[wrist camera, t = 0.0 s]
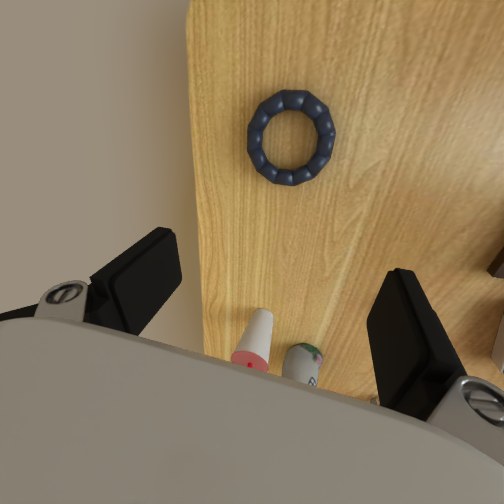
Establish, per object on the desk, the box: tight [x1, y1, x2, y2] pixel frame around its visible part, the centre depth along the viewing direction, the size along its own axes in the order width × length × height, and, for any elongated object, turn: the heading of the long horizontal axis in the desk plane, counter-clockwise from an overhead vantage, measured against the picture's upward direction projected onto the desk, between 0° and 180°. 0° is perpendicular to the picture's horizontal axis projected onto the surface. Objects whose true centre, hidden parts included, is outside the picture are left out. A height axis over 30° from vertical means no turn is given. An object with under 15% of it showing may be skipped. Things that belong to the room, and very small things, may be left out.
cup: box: [231, 309, 274, 372], centre depth 35 cm, size 5×5×12 cm
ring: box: [247, 90, 336, 186], centre depth 24 cm, size 9×9×2 cm
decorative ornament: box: [282, 344, 323, 387], centre depth 37 cm, size 9×7×15 cm
